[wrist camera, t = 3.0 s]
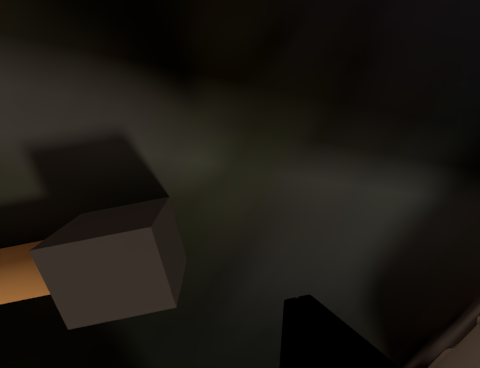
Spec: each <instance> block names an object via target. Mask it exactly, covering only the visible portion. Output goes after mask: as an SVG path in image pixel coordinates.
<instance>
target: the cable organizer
mask: <svg viewBox="0 0 480 368" xmlns="http://www.w3.org/2000/svg"><path fill="white" fill-rule="evenodd" d="M477 323H478V324H477V325H476V326H475V327H474V328H473V330H472V331H471V332H470V333H469V334H468V335H467V336H466V337H465V338H464V339H463V340H462V341H461V342H460V343H459V344H458V345H457V346H456V347H455V348H454V349H453V350H452V349H446V350H444V351H443V352H442V353H441V354H440V355H439V356H438V357H437V358H436V359H435V360H434V361H433V362H432V363H431V364H430V366H429V367H428V368H480V315H479V316H478V318H477Z"/></svg>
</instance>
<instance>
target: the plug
mask: <svg viewBox="0 0 480 368" xmlns="http://www.w3.org/2000/svg"><path fill="white" fill-rule="evenodd" d="M186 262H187V258H186V254H185V251H184V247H183V243H182V240H181V236H180V233H179V229H178V225H177V222H176V218H175V215H174V211H173V208H172V204H171V200H170V197H165V198H160V199H155V200H150V201H144V202H139V203H134V204H129V205H124V206H118V207H113V208H108V209H103V210H98V211H92V212H87V213H82V214H80V215H78V216H77V217H76V218H74V219H73V220H71V221H70V222H69V223H67V224H66V225H64V226H63V227H62V228H60V229H59V230H57V231H56V232H55V233H53V234H52V235H50V236H49V237H48V238H46V239H45V240H43V241H38V242H32V243H27V244H22V245H17V246H12V247H7V248H2V249H0V304H5V303H10V302H15V301H20V300H25V299H30V298H35V297H40V296H45V295H49V294H51V296H52V298H53V300H54V302H55V304H56V306H57V308H58V310H59V312H60V314H61V316H62V318H63V320H64V322H65V324H66V326H67V328H68V330H69V329H74V328H79V327H84V326H89V325H94V324H98V323H103V322H108V321H113V320H118V319H123V318H127V317H132V316H137V315H142V314H147V313H152V312H157V311H161V310H166V309H171V308H176V306H177V302H178V297H179V293H180V289H181V284H182V280H183V275H184V271H185V266H186Z"/></svg>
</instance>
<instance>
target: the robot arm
mask: <svg viewBox="0 0 480 368" xmlns="http://www.w3.org/2000/svg"><path fill="white" fill-rule="evenodd" d="M279 368H400V367H399V366H398V365H396V364H395V363H394V362H393V361H392V360H390V359H389V358H388V357H387V356H385V355H384V354H383V353H382V352H380V351H379V350H378V349H377V348H375V347H374V346H373V345H372V344H371V343H369V342H368V341H367V340H366V339H364V338H363V337H362V336H361V335H359V334H358V333H357V332H356V331H355V330H353V329H352V328H351V327H350V326H348V325H347V324H346V323H345V322H343V321H342V320H341V319H340V318H339V317H337V316H336V315H335V314H334V313H332V312H331V311H330V310H329V309H327V308H326V307H325V306H324V305H323V304H321V303H320V302H319V301H318V300H316V299H315V298H314V297H313V296H311V295H304V296H299V297H298V299H297V298H296V297H294V298H290V299H285V301H284V310H283V324H282V338H281V353H280V367H279Z"/></svg>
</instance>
